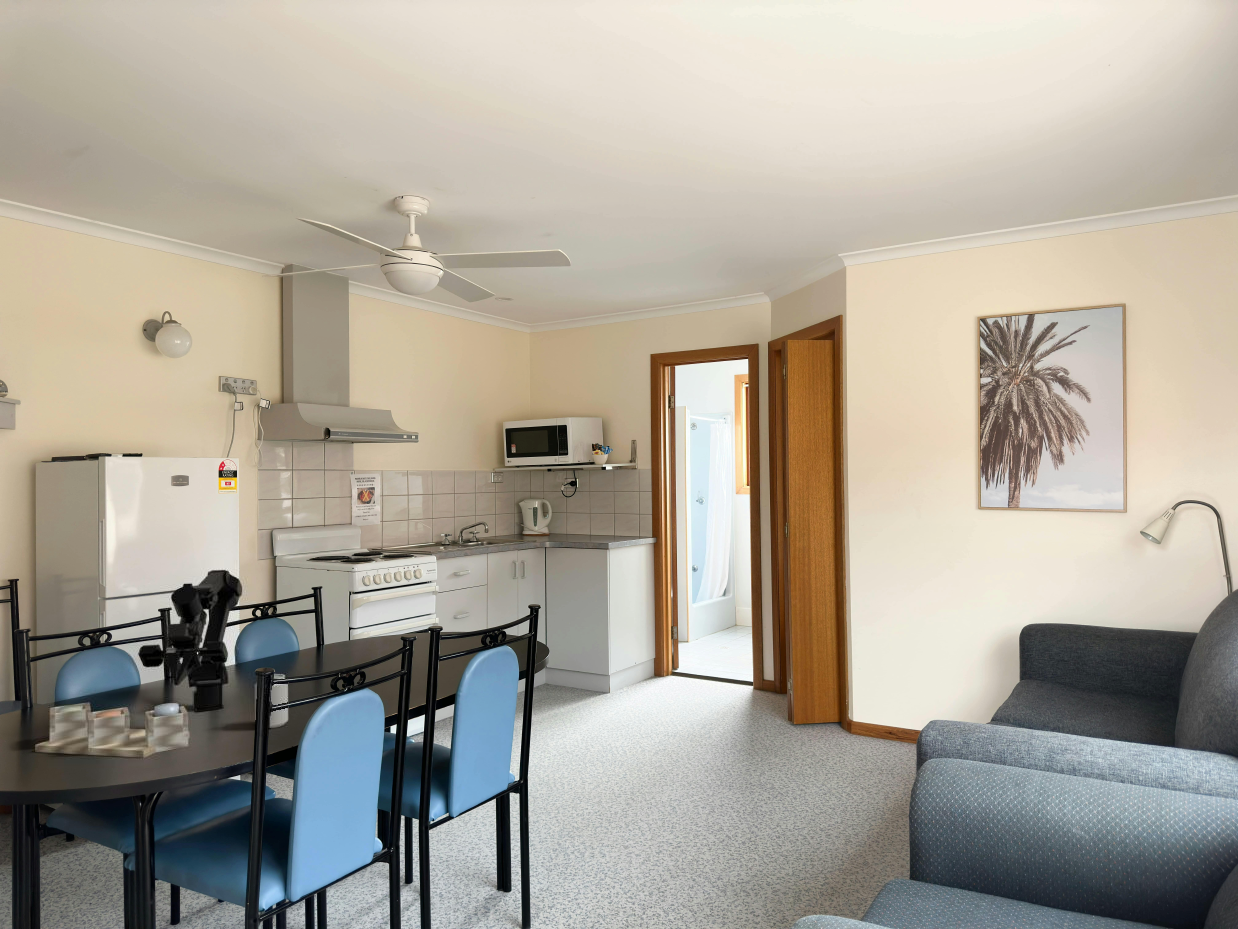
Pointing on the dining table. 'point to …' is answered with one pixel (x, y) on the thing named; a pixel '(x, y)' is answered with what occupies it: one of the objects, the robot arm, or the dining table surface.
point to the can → (277, 702)
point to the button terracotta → (108, 714)
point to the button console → (113, 733)
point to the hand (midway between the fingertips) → (176, 684)
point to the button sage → (70, 709)
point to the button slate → (166, 709)
